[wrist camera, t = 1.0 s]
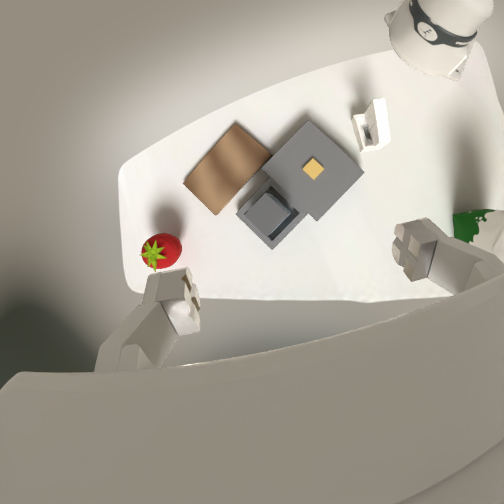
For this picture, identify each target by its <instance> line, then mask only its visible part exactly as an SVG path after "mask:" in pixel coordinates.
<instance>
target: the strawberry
mask: <svg viewBox="0 0 504 504" xmlns="http://www.w3.org/2000/svg"><path fill="white" fill-rule="evenodd" d="M181 252H182V245H181V243H180V241H179V240H178V239H177V238H176V237H175V236H172V235H169V234H164V233H162V234H157V235H154V236H152V237H151V238H149V239H148V240H147V241H146V242H145V243H144V245H143V247H142V251H141V253H142V254H141V256H142V259H143V261H144V262H145V263H146V264H147V265H148V267H151V268H154V271H155V272H156V269H162V268H167V267H170V266H171V265H173V264H174V263H175V262H176V261H177V260H178V258H179V256H180V255H181Z"/></svg>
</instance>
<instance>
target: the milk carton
mask: <svg viewBox="0 0 504 504" xmlns="http://www.w3.org/2000/svg"><path fill="white" fill-rule="evenodd" d="M453 222H454V236H455V238H456V239H458V240H461V241H463V242H466V243H468V244H471V245H473V246H476V247H478V248H480V249H483V250H485V251H487V252H490V253H492V254H494V255H496V256H497V257H498V258H499V259H500V260H501V261H502V262H503V263H504V211H502V210H491V209H482V210H475V211H469V212H465V213H460V214H456V215H453Z"/></svg>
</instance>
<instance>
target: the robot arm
mask: <svg viewBox="0 0 504 504" xmlns="http://www.w3.org/2000/svg"><path fill="white" fill-rule="evenodd" d="M493 10H494V4H493V0H405V1H404V2H403V1H402V2H401V3H400V4H399V6H398V8H397V10H396V11H393V12H391V13H388V14H386V16H385V21H386V23H387V25H388V27H389V32H390V33H389V34H390V35H389V36H390V41H391V43H392V46H393V48H394V49H395V51H396V52H397V54H398V55H399V56H400V57H401V58H402V59H403V60H404V61H405V62H406V63H407V64H409V65H410V66H411V67H413V68H414V69H416V70H418V71H420V72H422V73H424V74H427V75H431V76H444V77H447V78H449V79H452V80H455V81H458V80H459V79H460V77H461V75H462V72H463V70H464V67H465V65H466V62H467V60H468V57H469V54H470V52H471V49H472V46H473V43H474V41H473V39H474V38H475V36H476V34H477V30H478V29H479V28H480V27H481V26H482V25H483V24H484V23H485V22H486V21H487V20H488V19H489V18H490V16H491V15H492V13H493ZM455 70H456V71H457V72H456V71H455ZM394 234H395V236H396V239H395V240H394V242H393V245H392V253H393V257H394V259H395V261H396V262H397V264H398V265H400V266H402V267H404V270H403V272H404V273H405V274H406V276H407V277H408V278H409V280H410V281H411V282H413V281H416V280H420V279H423V278H427V277H428V279H429V280H431V281H433V282H434V283H436V284H437V285H439V286H441V287H442V288H444V289H445V290H447V291H449V292H450V293H452V294H453V295H454V296H451V297H449V298H446V299H444V300H441V301H439V302H436V303H433V304H431V305H428V306H425V307H423V308H420V309H417V310H414V311H412V312H409V313H406V314H403V315H400V316H397V317H394V318H391V319H388V320H385V321H382V322H379V323H376V324H372V325H369V326H366V327H362V328H359V329H356V330H353V331H349V332H345V333H342V334H338V335H334V336H330V337H327V338H323V339H319V340H315V341H311V342H307V343H303V344H299V345H294V346H290V347H285V348H281V349H276V350H271V351H266V352H261V353H257V354H251V355H246V356H240V357H235V358H229V359H223V360H216V361H210V362H203V363H196V364H189V365H181V366H172V367H164V368H160V367H161V365H162V363H163V362H164V360H165V358H166V357H167V355H168V353H169V352H170V350H171V348H172V347H173V345H174V343H175V341H176V340H177V339H178V336H179V335H185V334H190V333H195V332H200V316H199V314H198V311H199V309H200V299H199V294H198V290H197V287H196V285H195V284H194V283H192V274H191V272H190V269H189V268H188V267H186V268H180V269H175V270H169V271H164V272H158V273H153V274H150V275H149V276H148V279H147V284H146V288H145V292H144V297H143V302H142V305H138V306H137V307H136V308H135V310H133V311H132V313H131V314H130V315H129V316H128V317H127V318H126V319H125V320H124V321H123V322H122V323H121V324H120V325H119V327H118V328H117V329H116V330H115V331H114V332H113V333H112V334H111V335H110V336H109V338H108V339H107V340H106V341H105V342H104V343H103V344H102V345H101V346H100V349H99V353H98V358H97V361H96V366H95V370H94V372H93V373H38V372H37V373H36V372H20V373H17V374H16V375H15V376H14V377H13V378H12V379H10V380H9V381H8V382H7V383H6V384H5V385H4V386H3V388H2V389H1V390H0V504H504V263H503V262H502V261H501V260H500V259H499V258H498V257H497V256H496V255H494V254H492V253H490V252H487V251H485V250H483V249H480V248H478V247H476V246H473V245H471V244H468V243H466V242H463V241H461V240H458V239H456V238H453V237H448V236H447V235H446V234H445V233H444V232H443V231H442V230H441V229H440V228H439V227H437V226H436V225H435V224H434V223H433V222H432V221H431V220H430V219H429V218H421V219H417V220H415V221H410V222H405V223H401V224H397V225H396V227H395V231H394Z"/></svg>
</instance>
